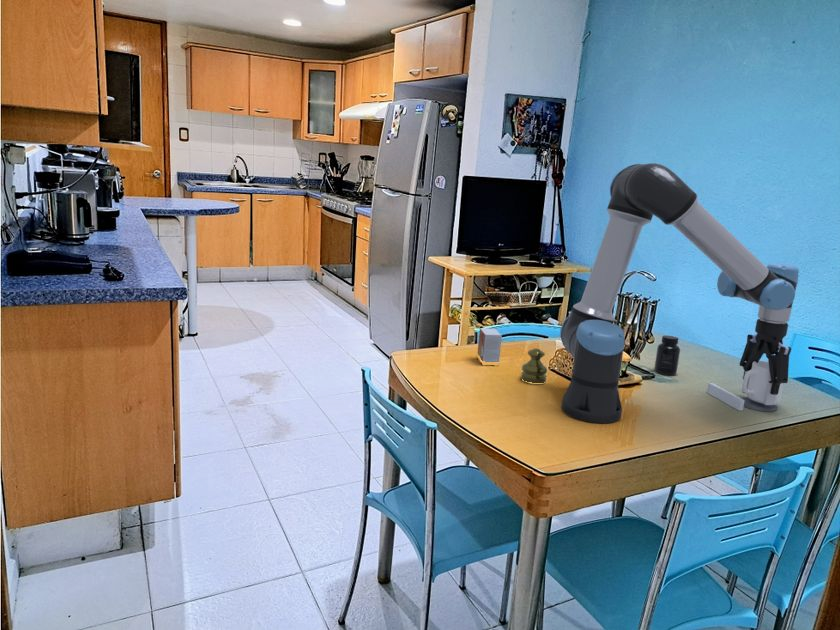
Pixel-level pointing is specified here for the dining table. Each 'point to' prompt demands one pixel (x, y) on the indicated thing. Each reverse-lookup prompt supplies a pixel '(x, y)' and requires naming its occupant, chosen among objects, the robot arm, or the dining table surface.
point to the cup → (759, 382)
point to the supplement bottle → (667, 356)
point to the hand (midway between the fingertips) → (757, 398)
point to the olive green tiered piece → (534, 368)
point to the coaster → (758, 405)
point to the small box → (489, 345)
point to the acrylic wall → (725, 396)
